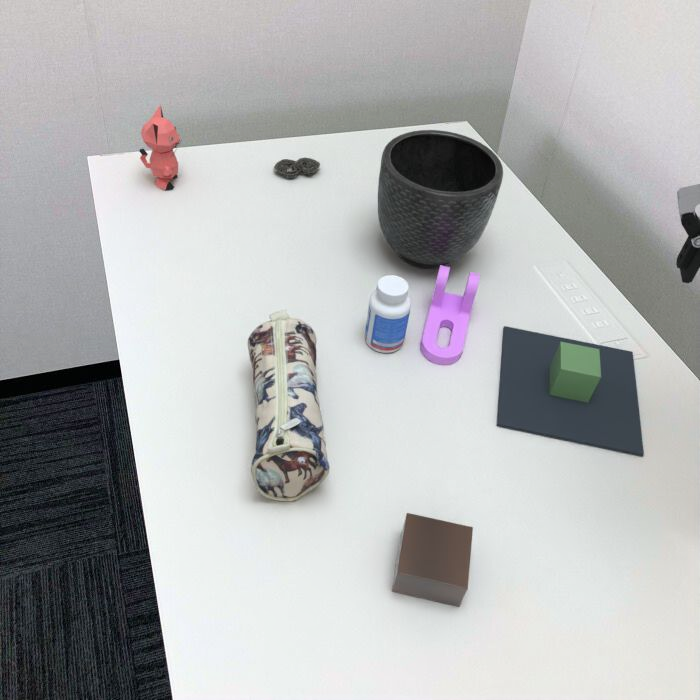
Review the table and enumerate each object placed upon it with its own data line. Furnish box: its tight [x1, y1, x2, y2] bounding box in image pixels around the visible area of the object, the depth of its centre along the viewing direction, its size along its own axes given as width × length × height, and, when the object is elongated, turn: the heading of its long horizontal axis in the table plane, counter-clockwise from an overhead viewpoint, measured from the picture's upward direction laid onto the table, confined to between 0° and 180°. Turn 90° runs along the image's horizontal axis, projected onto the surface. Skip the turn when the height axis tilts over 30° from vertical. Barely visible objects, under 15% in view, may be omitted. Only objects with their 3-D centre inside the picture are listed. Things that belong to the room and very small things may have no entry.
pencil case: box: [247, 309, 331, 502], centre depth 85 cm, size 22×8×10 cm, turn 6°
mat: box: [496, 325, 645, 458], centre depth 97 cm, size 18×18×1 cm
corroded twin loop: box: [273, 157, 321, 179], centre depth 126 cm, size 5×8×1 cm, turn 108°
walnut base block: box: [391, 512, 474, 608], centre depth 76 cm, size 7×7×4 cm
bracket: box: [420, 265, 481, 366], centre depth 100 cm, size 13×6×7 cm, turn 166°
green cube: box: [550, 342, 601, 403], centre depth 95 cm, size 5×5×5 cm
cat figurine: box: [138, 103, 183, 191], centre depth 116 cm, size 7×7×12 cm
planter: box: [377, 129, 504, 270], centre depth 108 cm, size 17×17×16 cm
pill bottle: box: [364, 274, 412, 354], centre depth 96 cm, size 6×5×10 cm
